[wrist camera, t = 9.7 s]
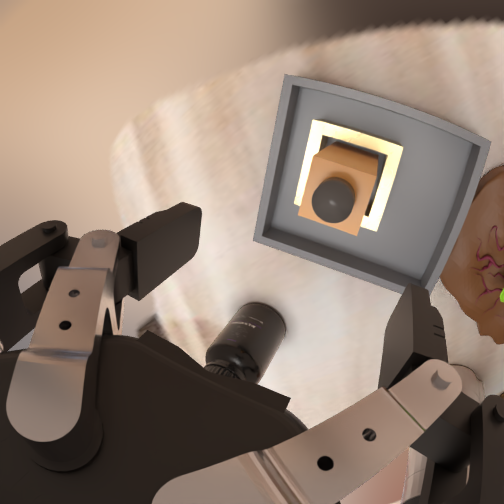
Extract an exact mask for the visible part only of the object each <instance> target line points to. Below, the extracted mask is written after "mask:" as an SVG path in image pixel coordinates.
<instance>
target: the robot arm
mask: <svg viewBox="0 0 504 504" xmlns="http://www.w3.org/2000/svg"><path fill="white" fill-rule="evenodd" d="M201 218H202V211H201V208H200V207H197V206H194V205H191V204H188V203H185V202H181V203H179V204H177V205H175V206H173V207H171V208H169V209H167V210H164V211H159V212H155V213H153V214H151V215H149V216H147V217H146V218H144V219H142V220H140V221H139V222H136V223H134V224H132V225H130V226H129V227H127V228H125V229H123V230H121V231H119V232H118V233H115V232H113V231H110V230H95V231H91V232H88V233H86V234H84V235H83V236H82V237H81V239H79V238H74V237H70V236H68V229H67V225H66V223H64V222H62V221H57V220H53V221H47V222H43V223H41V224H39V225H37V226H35V227H33V228H32V229H29V230H27V231H26V232H24V233H22V234H20V235H18V236H17V237H15V238H13V239H11V240H9V241H8V242H6V243H4V244H3V245H1V246H0V504H341V503H340V500H341V499H343V498H344V497H346V496H347V495H349V494H350V493H351V492H353V491H354V490H355V489H357V488H359V487H360V486H361V485H363V484H364V483H365V482H367V481H368V480H369V479H371V478H372V477H373V476H374V475H376V474H377V473H378V472H379V471H380V470H382V469H383V468H384V467H386V466H387V465H388V464H389V463H390V462H392V461H393V460H394V459H395V458H396V457H398V456H399V455H400V454H401V453H402V452H403V451H404V450H406V449H407V448H408V447H409V456H408V462H407V470H406V476H405V482H404V488H403V494H402V499H401V504H504V399H503V398H501V397H499V396H497V395H489V396H487V397H486V398H485V396H484V389H483V383H482V381H479V380H477V378H476V375H475V374H474V372H473V371H472V370H470V369H469V368H467V367H463V366H458V365H449V364H448V356H447V347H446V339H445V332H444V325H443V318H442V317H441V315H440V313H439V312H438V310H437V308H435V307H433V306H431V304H430V297H429V291H428V290H427V289H425V288H422V287H420V286H417V285H414V284H412V283H409V284H408V285H407V286H406V288H405V290H404V292H403V294H402V296H401V298H400V300H399V302H398V304H397V306H396V307H395V309H394V311H393V313H392V315H391V317H390V319H389V321H388V324H387V327H386V330H385V336H384V346H383V354H382V362H381V370H380V377H379V384H378V389H377V390H376V391H374V392H373V393H371V394H370V395H368V396H366V397H365V398H363V399H362V400H360V401H358V402H357V403H355V404H353V405H352V406H350V407H348V408H347V409H345V410H343V411H342V412H340V413H338V414H336V415H335V416H333V417H331V418H329V419H327V420H326V421H324V422H322V423H320V424H318V425H316V426H314V427H312V428H311V429H309V430H308V428H307V427H306V426H305V425H304V424H303V423H302V422H301V421H300V420H299V419H298V418H297V417H296V416H295V415H294V414H292V413H291V412H290V411H288V410H287V409H286V408H287V406H288V403H289V401H290V399H291V398H289V397H287V396H284V395H282V394H279V393H277V392H275V391H272V390H270V389H267V388H265V387H263V386H260V385H258V384H256V383H253V382H250V381H245V380H240V379H236V378H232V377H227V376H223V375H219V374H215V373H211V372H209V371H207V370H206V369H204V368H203V367H202V366H201V365H200V364H198V363H197V362H196V361H195V360H194V359H192V358H191V357H190V356H189V355H188V354H186V353H185V352H184V351H183V350H182V349H181V348H179V347H178V346H176V345H174V344H172V343H170V342H169V341H167V340H165V339H163V338H161V337H159V336H157V335H156V334H154V333H152V332H150V331H148V330H147V331H146V332H145V333H144V334H143V335H142V336H141V337H140V338H135V337H130V336H123V335H122V323H123V312H124V297H125V296H126V295H129V296H131V297H133V298H135V299H136V300H138V301H140V300H141V299H142V298H144V297H145V296H146V295H147V294H148V293H150V292H151V291H152V290H153V289H155V288H156V287H157V286H158V285H160V284H161V283H162V282H163V281H164V280H166V279H167V278H168V277H169V276H171V275H172V274H173V273H174V272H176V271H177V270H178V269H179V268H181V267H182V266H183V265H184V264H186V263H187V262H188V261H189V260H191V259H192V258H193V257H194V255H195V254H196V252H197V249H198V245H199V237H200V227H201ZM37 263H39V268H40V272H41V276H42V279H41V280H40V281H38V282H37V283H35V284H34V285H33V286H31V287H30V288H28V289H27V290H26V291H25V292H23V293H22V294H21V293H20V290H19V287H18V281H19V278H20V276H21V275H22V274H23V273H24V272H25V271H27V270H28V269H30V268H31V267H33V266H34V265H36V264H37ZM34 328H35V330H34V333H33V336H32V339H31V342H30V345H29V347H28V348H27V349H21V350H15V351H8V350H9V349H10V348H12V347H13V346H14V345H15V344H16V343H17V342H18V341H20V340H21V339H22V338H23V337H24V336H25V335H27V334H28V333H29V332H30V331H31V330H32V329H34ZM7 351H8V352H7Z"/></svg>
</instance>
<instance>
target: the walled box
mask: <svg viewBox="0 0 504 504" xmlns="http://www.w3.org/2000/svg"><path fill="white" fill-rule="evenodd" d="M314 119H324V120H328V121H331V122H335V123H339V124H342V125H346V126H349V127H353V128H356V129H359V130H363V131H366V132H369V133H372V134H375V135H378V136H381V137H384V138H387V139H390V140H393V141H396V142H399V143H401V144H402V146H403V150H402V153H401V157H400V160H399V164H398V167H397V171H396V174H395V177H394V180H393V184H392V187H391V190H390V193H389V196H388V199H387V202H386V205H385V208H384V211H383V214H382V217H381V220H380V223H379V226H378V229H377V231H373V230H370V229H367V228H365V227H362V226H360V229H359V231H358V234H357V236H355V235H352V234H350V233H347V232H344V231H341V230H339V229H336V228H333V227H330V226H327V225H325V224H322V223H319V222H316V221H313V220H310V219H307V218H305V217H302V216H299V215H298V212H299V208H300V206H299V205H296V204H294V201H295V197H296V193H297V188H298V184H299V180H300V175H301V171H302V167H303V162H304V158H305V153H306V149H307V144H308V140H309V135H310V131H311V126H312V121H313V120H314ZM336 141H337V142H340V143H344V144H347V145H350V146H353V147H356V148H359V149H362V150H365V151H368V152H371V153H374V154H377V155H379V156H378V168H377V177H376V181H375V184H374V187H373V190H372V193H371V196H370V199H369V202H368V204H369V205H371V203H372V200H373V197H374V193H375V190H376V187H377V184H378V180H379V177H380V174H381V170H382V167H383V163H384V160H385V156H386V154H384V153H381V152H378V151H375V150H372V149H369V148H366V147H363V146H359V145H356V144H353V143H350V142H346V141H343V140H340V139H336V138H333V137H329V136H328V140H327V144H326V147H327V146H329V145H331V144H332V143H334V142H336ZM490 144H491V141H489V140H487V139H485V138H483V137H481V136H479V135H477V134H474V133H472V132H470V131H468V130H466V129H464V128H461V127H459V126H457V125H455V124H452V123H450V122H447V121H445V120H443V119H440V118H438V117H435V116H433V115H430V114H428V113H425V112H422V111H420V110H417V109H414V108H411V107H409V106H406V105H403V104H400V103H397V102H394V101H391V100H388V99H385V98H381V97H378V96H375V95H372V94H368V93H365V92H361V91H357V90H354V89H350V88H346V87H342V86H338V85H334V84H330V83H326V82H321V81H317V80H312V79H308V78H303V77H297V76H292V75H287V74H285V76H284V81H283V86H282V91H281V96H280V102H279V107H278V112H277V117H276V123H275V128H274V133H273V138H272V143H271V149H270V154H269V159H268V164H267V170H266V175H265V180H264V185H263V191H262V196H261V201H260V206H259V212H258V217H257V222H256V227H255V233H254V238H253V241H255V242H258V243H261V244H264V245H266V246H269V247H272V248H275V249H278V250H281V251H283V252H286V253H289V254H292V255H295V256H298V257H300V258H303V259H306V260H309V261H312V262H314V263H317V264H320V265H323V266H326V267H328V268H331V269H334V270H337V271H340V272H342V273H345V274H348V275H351V276H353V277H356V278H359V279H362V280H364V281H367V282H370V283H373V284H376V285H378V286H381V287H384V288H387V289H389V290H392V291H395V292H397V293H400V294H403V292H404V290H405V288H406V286H407V285H408V284H409V283H412V284H414V285H417V286H420V287H422V288H425V289H427V290H428V291H429V296H430V294H431V292H432V290H433V288H434V286H435V284H436V283H437V281H438V279H439V277H440V275H441V273H442V270H443V268H444V266H445V264H446V262H447V260H448V258H449V256H450V254H451V251H452V249H453V247H454V245H455V242H456V240H457V238H458V235H459V233H460V231H461V228H462V226H463V223H464V221H465V219H466V216H467V213H468V211H469V208H470V206H471V203H472V200H473V198H474V195H475V192H476V189H477V186H478V183H479V180H480V177H481V174H482V171H483V168H484V165H485V162H486V158H487V155H488V151H489V148H490Z"/></svg>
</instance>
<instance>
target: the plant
mask: <svg viewBox="0 0 504 504" xmlns="http://www.w3.org/2000/svg"><path fill="white" fill-rule="evenodd" d="M440 279H441V281H442V283H443V285H444V286H445V288H446V289H447V290H448V291H449V292H450V293H451V294H452V295H453V296H454V297H455V298H456V300H457V301H458V303H459V305H460V307H461V309H462V311H463V312H464V313H465V314H466V315H468V316H469V317H470V318H471V319H473V320H474V321H476V322H477V327H478V331H479V334H480V336H483V335H488V336H491V337H492V338H493V340H494V342H495V343H496V344H503V343H504V166H500V167H496V168H494V169H492V170H491V171H490V172H488V173H487V174H486V175H485V176H484V177H482V178H481V179H480V181H479V183H478V186H477V189H476V192H475V195H474V198H473V200H472V203H471V206H470V208H469V211H468V213H467V216H466V219H465V221H464V223H463V226H462V228H461V231H460V233H459V235H458V238H457V240H456V242H455V245H454V247H453V249H452V251H451V254H450V256H449V258H448V260H447V262H446V264H445V266H444V268H443V270H442V273H441V275H440Z"/></svg>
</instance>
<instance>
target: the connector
mask: <svg viewBox="0 0 504 504" xmlns="http://www.w3.org/2000/svg"><path fill="white" fill-rule="evenodd" d="M378 156H379V155H377V154H374V153H371V152H368V151H365V150H362V149H359V148H356V147H353V146H350V145H347V144H344V143H340V142H337V141H336V142H334V143H332V144H331V145H329V146H327V147H326V148H324V149H323V150H321V151H319V152H318V153H316V154H315V155H313V157H312V161H311V165H310V169H309V173H308V177H307V181H306V185H305V189H304V193H303V197H302V200H301V204H300V208H299V212H298V215H299V216H302V217H305V218H307V219H310V220H313V221H316V222H319V223H322V224H325V225H327V226H330V227H333V228H336V229H339V230H341V231H344V232H347V233H350V234H352V235H355V236H357V234H358V231H359V229H360V226H361V223H362V220H363V217H364V214H365V211H366V208H367V205H368V202H369V199H370V196H371V193H372V190H373V187H374V184H375V181H376V177H377V168H378Z"/></svg>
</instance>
